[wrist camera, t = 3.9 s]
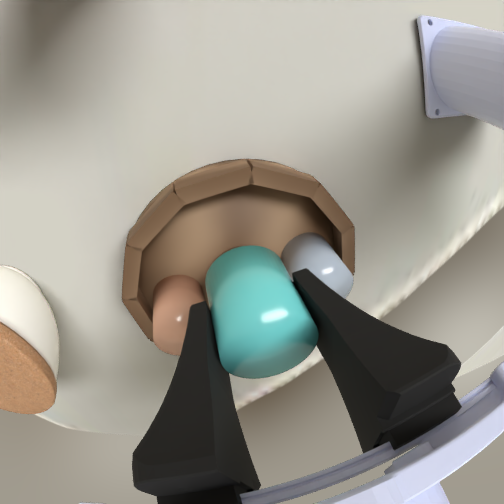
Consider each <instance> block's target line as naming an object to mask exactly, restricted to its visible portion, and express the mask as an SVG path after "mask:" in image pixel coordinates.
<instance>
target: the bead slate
mask: <svg viewBox="0 0 504 504" xmlns="http://www.w3.org/2000/svg"><path fill="white" fill-rule="evenodd" d="M281 260H282V262H283V264H284V266H285V268H286V269H287V271H288V273H289V275H290V277H291V279H292V281H293V277H292V273H293V272H296V271H299V270H302V269H305V268H307V269H309V270H310V271H311V272H312V273H313V274H314V275H315V276H316V277H318V278H319V279H320V280H321V281H322V282H324V283H325V284H326V285H327V286H328V287H330V288H331V289H332V290H334V291H335V292H336V293H338V294H339V295H340V296H342V297H343V298H344V299H345V298H346V297H347V295H348V294H349V293H350V291H351V289H352V286H353V276H352V273H351V272H350V271H349V269H348V268H347V267H346V266H345V264H344V263H343V262H342V260H341V259H340V258H339V256H338V255H337V254H336V252H335V251H334V250H333V249H332V247H331V246H330V245H329V244H328V242H327V241H326V240H325V238H324V237H323V236H321V235H320V234H318V233H313V232H307V233H303V234H300V235H298V236H296V237H294V238H293V239H291V240H290V241H289V242H288V243H287V244H286V246H285V247H284V249H283V251H282V254H281Z"/></svg>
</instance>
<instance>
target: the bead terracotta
mask: <svg viewBox="0 0 504 504" xmlns="http://www.w3.org/2000/svg"><path fill="white" fill-rule="evenodd" d="M203 301H205V299H204V293H203V288H202V286H201V285H200V283H199V282H198V281H197V280H195V279H194V278H192V277H189V276H186V275H171V276H168V277H165V278H164V279H162V280H160V281H159V282H158V283H157V284H156V286H155V288H154V291H153V340H154V343H155V345H156V346H157V347H158V348H159V349H160V350H162V351H164V352H166V353H168V354H172V355H180V354H181V350H182V346H183V342H184V338H185V334H186V329H187V323H188V317H189V310H190V307H191V305H193V304H196V303H200V302H203Z"/></svg>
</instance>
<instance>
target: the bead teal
mask: <svg viewBox="0 0 504 504" xmlns="http://www.w3.org/2000/svg"><path fill="white" fill-rule="evenodd" d="M205 287H206V293H207V298H208V303H209V308H210V313H211V318H212V323H213V328H214V333H215V338H216V343H217V348H218V352H219V357H220V361H221V364H222V366H223V368H224V369H225V370H226V371H228V372H229V373H230V374H232V375H235V376H238V377H242V378H250V379H256V378H266V377H270V376H274V375H277V374H280V373H283V372H285V371H288V370H289V369H291V368H293V367H295V366H296V365H298V364H299V363H301V362H302V361H303V360H305V359H306V358H307V357H308V356H309V355H310V354H311V352H312V351H313V350H314V348H315V346H316V344H317V341H318V336H319V333H318V329H317V326H316V324H315V323H314V321H313V319H312V317H311V315H310V313H309V311H308V309H307V307H306V305H305V303H304V302H303V300H302V298H301V296H300V294H299V292H298V290H297V288H296V286H295V284H294V283H293V281H292V279H291V277H290V275H289V273H288V271H287V269H286V268H285V266H284V264H283V262H282V260H281V259H280V257H279V256H278V255H277V254H276V253H275V252H273V251H272V250H270V249H268V248H265V247H261V246H254V245H250V246H242V247H237V248H234V249H232V250H230V251H227V252H226V253H224V254H222V255H221V256H220V257H219V258H217V259H216V260H215V261H214V262H213V264H212V265H211V266H210V268H209V270H208V272H207V274H206V278H205Z"/></svg>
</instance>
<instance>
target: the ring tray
mask: <svg viewBox="0 0 504 504" xmlns="http://www.w3.org/2000/svg"><path fill="white" fill-rule="evenodd" d="M307 232H313V233H318V234H320V235H321V236H323V237H324V238H325V240H326V241H327V242H328V244H329V245H330V246H331V247H332V249H333V250H334V251H335V252H336V254H337V255H338V256H339V258H340V259H341V260H342V262H343V263H344V264H345V266H346V267H347V268H348V269H349V271H350V272H351V273H352V276H353V275H354V274H353V273H354V272H355V230H354V226H353V223H352V222H351V221H350V219H349V218H348V217H347V215H346V214H345V213H344V212H343V210H342V209H341V208H340V207H339V205H338V204H337V203H336V202H335V200H334V199H333V198H332V197H331V195H330V194H329V193H328V192H327V190H326V189H325V188H324V187H323V186H322V184H321V183H319V182H318V181H317V180H316V179H315V178H314V177H313V176H311V175H310V174H306V173H302V172H299V171H297V170H295V169H293V168H291V167H288V166H285V165H282V164H279V163H276V162H271V161H265V160H258V159H237V160H227V161H222V162H218V163H214V164H209V165H206V166H204V167H201V168H199V169H196V170H193V171H191V172H189V173H187V174H185V175H184V176H182V177H180V178H178V179H176V180H175V181H174V182H172V183H171V184H169V185H168V186H167V187H165V188H164V189H163V190H162V191H161V192H160V193H159V194H158V195H157V196H156V197H154V198H153V199H152V200H151V201H150V203H149V204H148V205H147V207H146V208H145V209H144V211H143V212H142V213H141V215H140V217H139V218H138V220H137V222H136V224H135V225H134V226H133V227H132V229H131V230H130V231H129V234H128V237H127V242H126V247H125V258H124V271H123V286H122V299H123V300H122V301H123V303H124V304H125V306H126V307H127V309H128V310H129V312H130V313H131V315H132V316H133V318H134V319H135V321H136V322H137V324H138V325H139V327H140V328H141V329H142V331H143V332H144V334H145V335H146V336H147V338H148V339H150V341H152V342H154V340H153V291H154V288H155V286H156V284H157V283H158V282H159V281H160V280H162V279H164V278H165V277H168V276H171V275H186V276H189V277H192V278H194V279H195V280H197V281H198V282H199V283H200V285H201V286H202V288H203V293H204V299H205V301H206V303H207V305H208V307H209V303H208V298H207V293H206V287H205V278H206V274H207V272H208V270H209V268H210V266H211V265H212V264H213V262H214V261H215V260H216V259H217V258H219V257H220V256H221V255H222V254H224V253H226V252H227V251H230V250H232V249H234V248H237V247H242V246H250V245H254V246H261V247H265V248H268V249H270V250H272V251H273V252H275V253H276V254H277V255H278V256H279V257H280V259H281V254H282V251H283V249H284V247H285V246H286V244H287V243H288V242H289V241H290V240H291V239H293V238H294V237H296V236H298V235H300V234H303V233H307ZM209 309H210V308H209Z"/></svg>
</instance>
